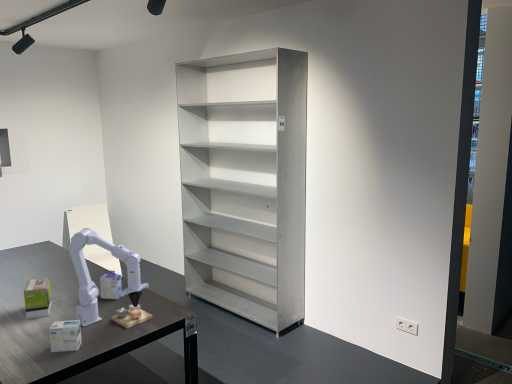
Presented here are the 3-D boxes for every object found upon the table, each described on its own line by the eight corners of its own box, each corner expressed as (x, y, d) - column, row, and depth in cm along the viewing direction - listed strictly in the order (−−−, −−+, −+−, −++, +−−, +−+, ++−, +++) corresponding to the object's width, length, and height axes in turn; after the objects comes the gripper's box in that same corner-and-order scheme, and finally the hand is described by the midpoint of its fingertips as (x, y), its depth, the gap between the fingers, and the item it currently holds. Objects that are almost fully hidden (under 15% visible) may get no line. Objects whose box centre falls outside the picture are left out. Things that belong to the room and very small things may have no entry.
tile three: (120, 317, 199) (120, 312, 198) (115, 315, 201) (115, 310, 201) (128, 314, 202) (127, 309, 201) (123, 312, 204) (123, 307, 204)
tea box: (30, 306, 215) (28, 279, 213) (52, 304, 219) (50, 276, 216) (25, 319, 201) (23, 290, 199) (49, 316, 205) (46, 287, 202)
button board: (126, 328, 193) (126, 325, 193) (111, 319, 201) (111, 316, 201) (152, 318, 204) (152, 315, 203) (136, 310, 212) (136, 307, 212)
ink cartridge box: (122, 295, 230) (121, 270, 227) (118, 299, 224) (116, 273, 222) (105, 294, 231) (104, 269, 229) (100, 298, 226) (99, 272, 223)
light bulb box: (82, 342, 180) (80, 319, 179) (78, 351, 174) (76, 326, 172) (55, 344, 179) (53, 320, 177) (50, 353, 172) (48, 328, 170)
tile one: (134, 318, 197) (134, 313, 197) (129, 316, 200) (129, 311, 200) (141, 316, 200) (141, 311, 200) (136, 313, 203) (136, 308, 203)
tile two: (133, 312, 204) (133, 307, 204) (128, 310, 206) (128, 305, 206) (140, 310, 207) (140, 305, 206) (135, 307, 209) (135, 302, 209)
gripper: (125, 285, 189) (126, 313, 191) (152, 276, 200) (153, 303, 202) (116, 281, 194) (117, 309, 196) (143, 273, 205) (144, 299, 207)
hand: (135, 306), depth 199 cm, fingers closed
